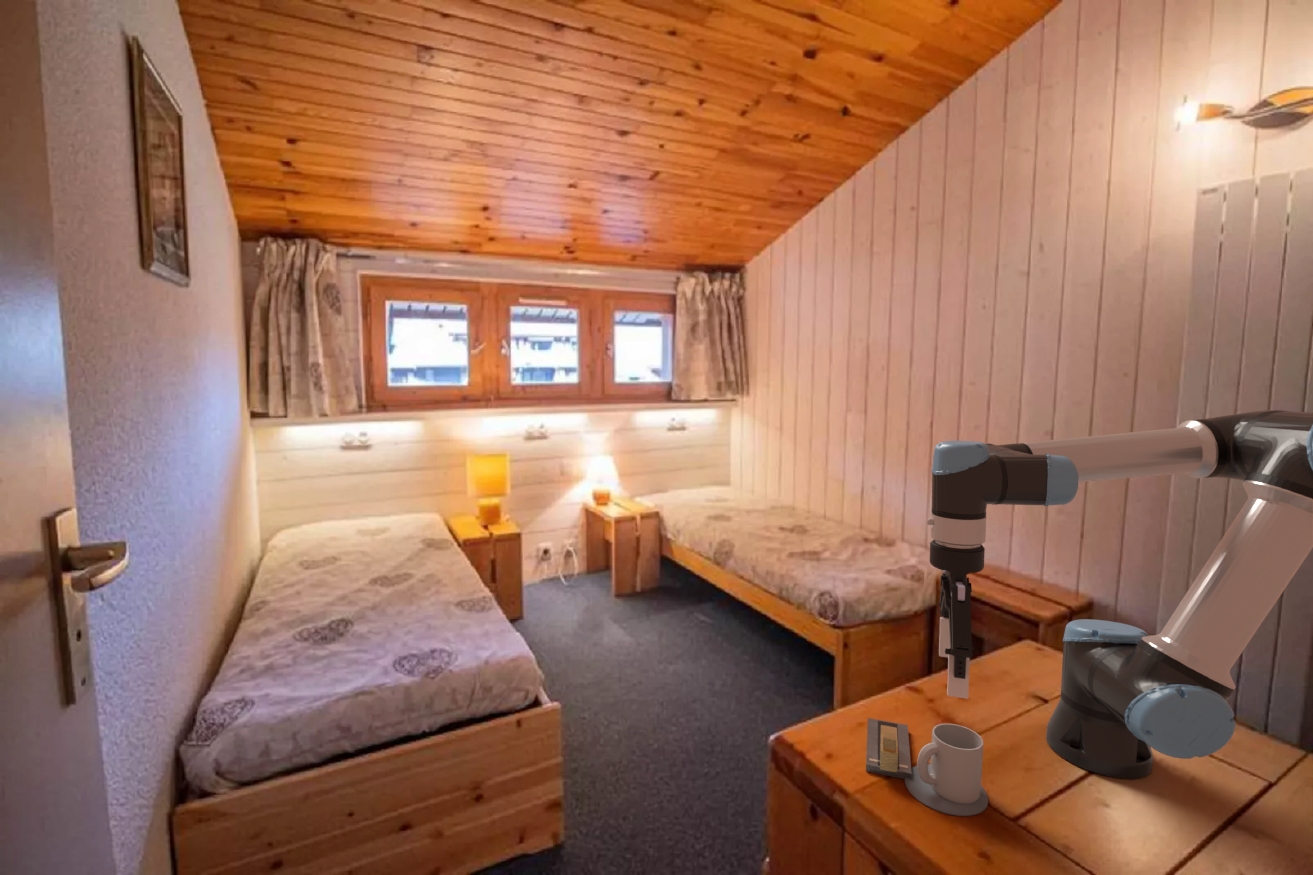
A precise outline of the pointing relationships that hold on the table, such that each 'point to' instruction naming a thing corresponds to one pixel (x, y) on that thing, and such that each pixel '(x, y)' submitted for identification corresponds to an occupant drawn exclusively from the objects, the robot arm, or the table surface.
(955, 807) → the coaster
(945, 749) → the cup
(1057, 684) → the table surface
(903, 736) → the lock plate
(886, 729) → the brass stepped block
